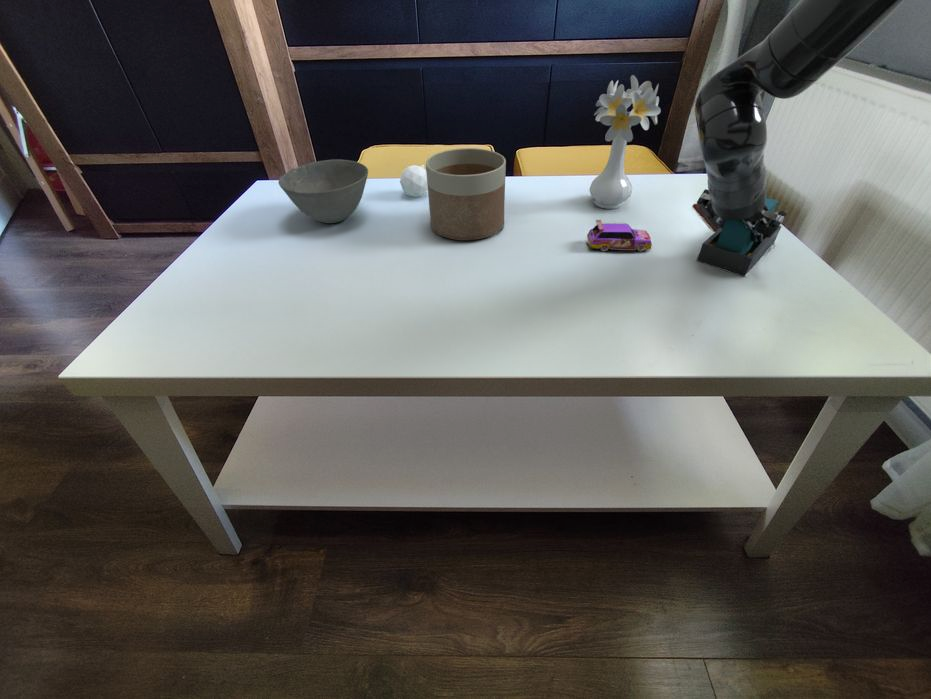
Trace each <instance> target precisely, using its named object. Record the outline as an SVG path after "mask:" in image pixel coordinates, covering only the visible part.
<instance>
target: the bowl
mask: <svg viewBox="0 0 931 699" xmlns="http://www.w3.org/2000/svg"><path fill="white" fill-rule="evenodd" d="M368 176H369V168H368V167H367V166H366V165H365V164H363V163H360V162H358V161H355V160H350V159H336V158H334V159H333V158H332V159H324V160H318V161H312V162H309V163H305V164H302V165H300V166H297V167H295V168H291V169H290V170H288V171H287V172H285V173H284V174H282V175H281V176H280V177H279V179H278V185H279V187H280V188H281V189H282V191H283V192H284V193H285V194H286V196H287V197H288V198H289V199H290V201H291V202H292V203H293V204H294V206H296V208H297V209H299V211H301V213H303V214H305V215H306V216H307V217H309V218H310V219H313V220H314V221H317V222H320V223H324V224H336V223H340V222H343V221H345V220H347V219H348V218H349V217H351V216H352V215H353V214H354V212H355V211H356V210H357V208H358V206H359V204H361V200H362V198H363V194H364V190H365V187H366V183H367V180H368Z"/></svg>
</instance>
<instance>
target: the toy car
mask: <svg viewBox="0 0 931 699" xmlns="http://www.w3.org/2000/svg"><path fill="white" fill-rule="evenodd" d="M595 221H596V225H594V227H593V228H591V229H589V231H588V233H587V234H586V238H587V242H588V245H589V248H590V249H600V251H601V252H603V253H605V252H607V251H608V250H609V249H610V250H619V251H636V250H637V251H638V252H643V251H645V250H652V247H653V246H652V245H653V242H652V238H651V236H650V234H649V232H648V231H647V230H644V229H635V228H632V227H631V226H630V224H628V223H602V221H601V219H596V220H595Z"/></svg>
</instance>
